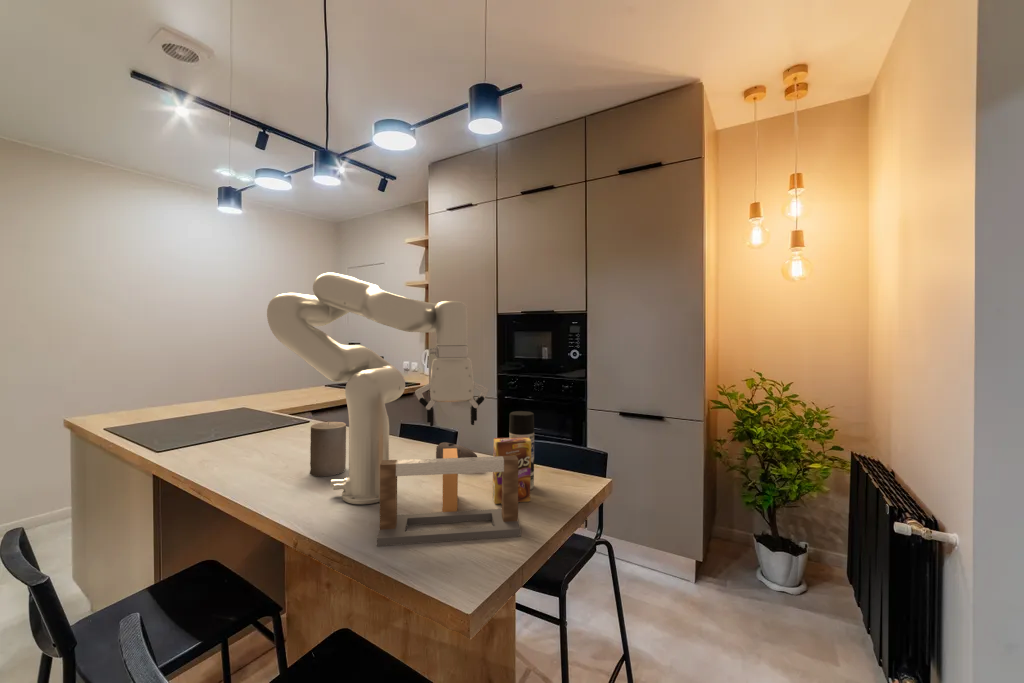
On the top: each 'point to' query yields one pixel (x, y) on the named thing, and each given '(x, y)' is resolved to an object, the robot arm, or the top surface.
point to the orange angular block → (450, 485)
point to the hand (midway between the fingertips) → (452, 424)
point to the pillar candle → (328, 448)
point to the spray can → (523, 432)
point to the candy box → (523, 452)
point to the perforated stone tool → (461, 450)
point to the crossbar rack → (396, 524)
